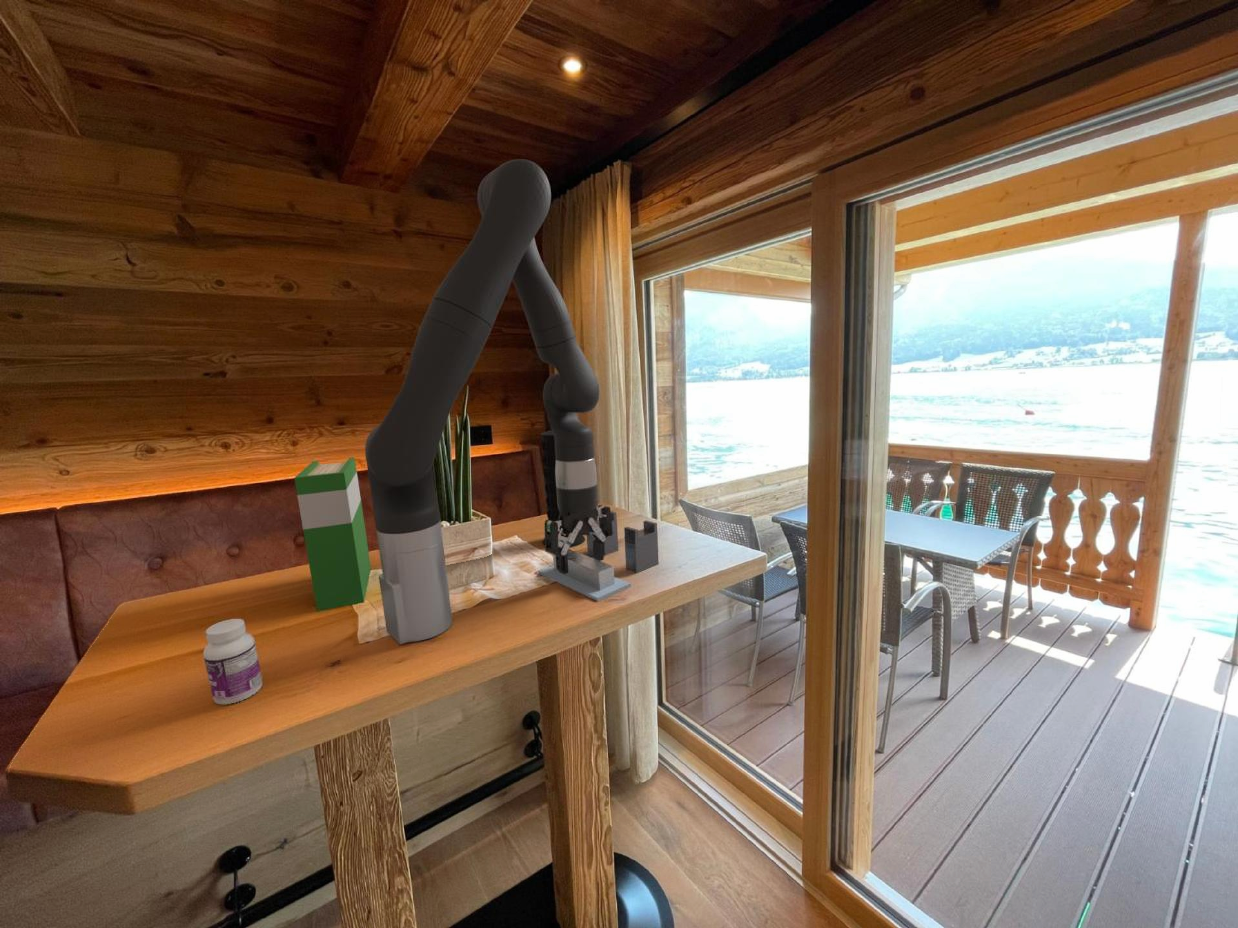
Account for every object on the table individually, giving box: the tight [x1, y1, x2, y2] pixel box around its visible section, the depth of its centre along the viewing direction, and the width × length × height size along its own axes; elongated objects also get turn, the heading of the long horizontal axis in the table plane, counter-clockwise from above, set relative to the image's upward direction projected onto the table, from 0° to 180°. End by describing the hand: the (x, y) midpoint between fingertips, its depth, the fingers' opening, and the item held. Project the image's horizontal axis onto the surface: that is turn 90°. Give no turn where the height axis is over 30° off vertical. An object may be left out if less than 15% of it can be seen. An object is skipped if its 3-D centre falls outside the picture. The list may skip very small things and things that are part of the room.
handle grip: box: [540, 429, 586, 548], centre depth 118 cm, size 10×26×10 cm
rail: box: [552, 549, 615, 590], centre depth 98 cm, size 4×14×4 cm, turn 43°
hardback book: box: [294, 456, 372, 612], centre depth 97 cm, size 18×7×24 cm, turn 22°
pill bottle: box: [202, 618, 263, 706], centre depth 67 cm, size 5×5×10 cm
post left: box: [586, 510, 619, 558], centre depth 111 cm, size 6×3×9 cm, turn 132°
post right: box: [623, 519, 659, 574], centre depth 102 cm, size 6×3×9 cm, turn 133°
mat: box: [538, 565, 632, 602], centre depth 98 cm, size 8×18×1 cm, turn 43°
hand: (581, 565), depth 97 cm, fingers open, 8 cm apart
